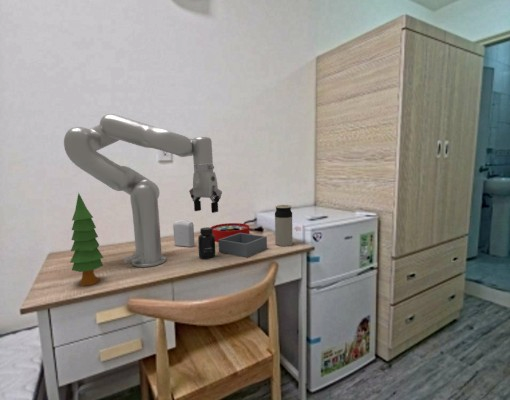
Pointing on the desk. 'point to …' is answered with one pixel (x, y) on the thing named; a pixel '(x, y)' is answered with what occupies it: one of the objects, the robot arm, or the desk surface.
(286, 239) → the travel mug
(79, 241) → the decorative tree
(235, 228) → the toy clock
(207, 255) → the supplement bottle
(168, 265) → the desk surface
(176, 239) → the photo printer
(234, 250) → the box
